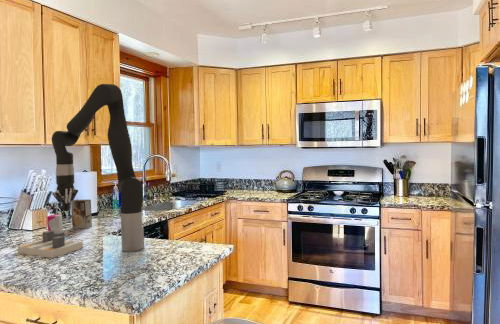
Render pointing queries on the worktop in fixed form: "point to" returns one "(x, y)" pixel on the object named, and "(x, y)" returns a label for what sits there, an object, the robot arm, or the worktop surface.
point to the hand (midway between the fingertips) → (66, 210)
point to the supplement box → (55, 223)
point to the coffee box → (81, 213)
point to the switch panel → (49, 248)
